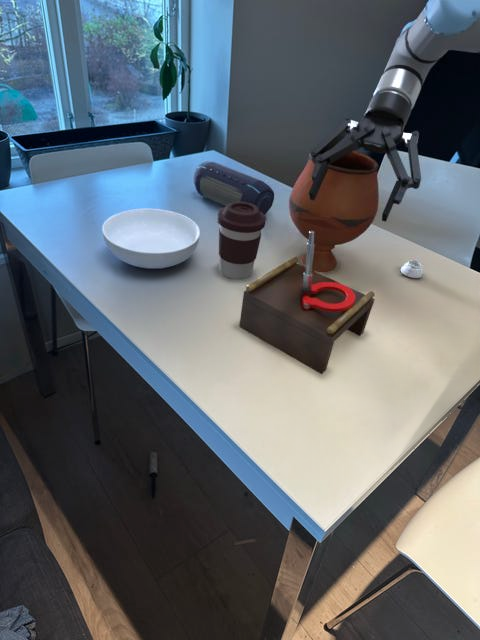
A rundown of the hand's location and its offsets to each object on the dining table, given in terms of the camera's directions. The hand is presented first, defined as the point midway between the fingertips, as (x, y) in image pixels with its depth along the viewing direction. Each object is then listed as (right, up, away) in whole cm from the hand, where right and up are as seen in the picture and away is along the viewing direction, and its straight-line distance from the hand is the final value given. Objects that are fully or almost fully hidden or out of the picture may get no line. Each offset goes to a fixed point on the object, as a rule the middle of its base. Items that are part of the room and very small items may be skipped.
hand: (346, 207), depth 80 cm
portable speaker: (-22, +12, +48) cm, 55 cm away
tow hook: (-4, -17, -1) cm, 17 cm away
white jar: (+22, -9, +27) cm, 36 cm away
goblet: (0, -7, +27) cm, 28 cm away
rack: (-7, -22, +5) cm, 24 cm away
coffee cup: (-20, -10, +20) cm, 30 cm away
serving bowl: (-39, -6, +21) cm, 45 cm away
